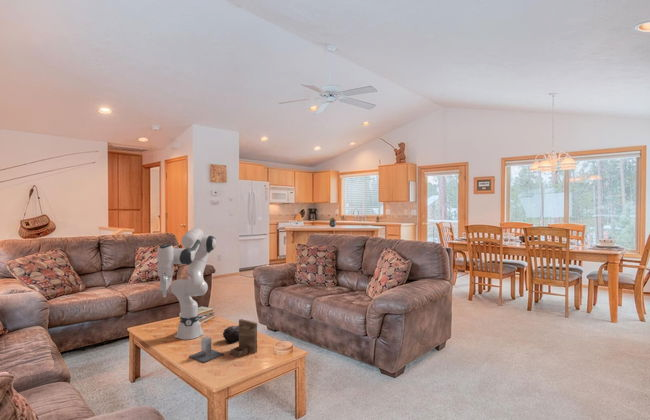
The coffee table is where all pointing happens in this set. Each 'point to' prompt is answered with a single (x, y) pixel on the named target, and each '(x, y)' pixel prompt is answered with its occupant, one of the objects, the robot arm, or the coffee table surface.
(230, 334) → the dark porous rock
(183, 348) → the coffee table surface
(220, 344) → the coffee table surface
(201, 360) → the rubber mat
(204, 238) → the robot arm
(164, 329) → the coffee table surface
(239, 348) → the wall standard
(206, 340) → the light gray square block
